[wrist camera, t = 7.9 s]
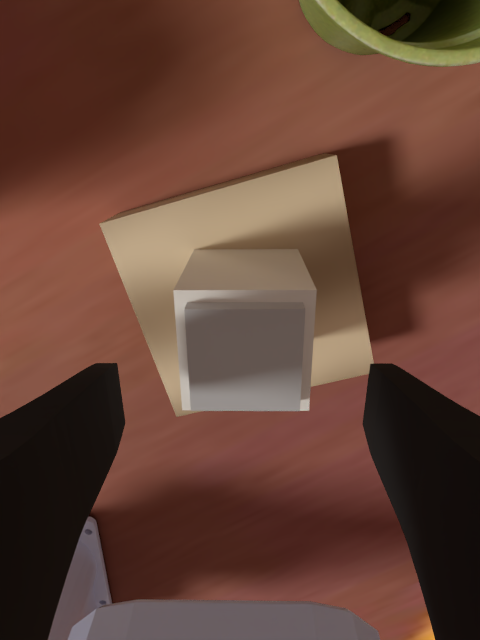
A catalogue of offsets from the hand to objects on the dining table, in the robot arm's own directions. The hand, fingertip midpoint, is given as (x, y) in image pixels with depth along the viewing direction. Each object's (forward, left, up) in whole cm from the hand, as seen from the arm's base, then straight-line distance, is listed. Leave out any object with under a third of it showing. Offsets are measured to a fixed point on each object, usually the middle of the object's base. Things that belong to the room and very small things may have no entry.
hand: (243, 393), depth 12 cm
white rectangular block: (0, 0, -7) cm, 7 cm away
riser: (0, 0, -10) cm, 10 cm away
